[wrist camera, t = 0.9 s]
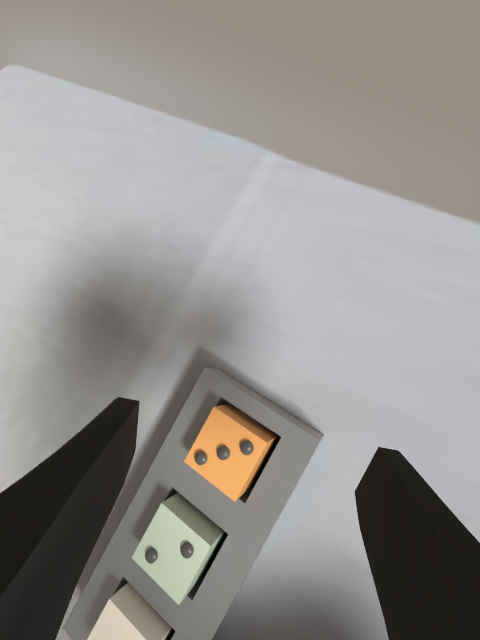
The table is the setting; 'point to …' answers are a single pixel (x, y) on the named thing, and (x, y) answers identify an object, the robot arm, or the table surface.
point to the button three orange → (230, 450)
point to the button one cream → (129, 619)
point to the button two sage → (178, 546)
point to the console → (233, 517)
